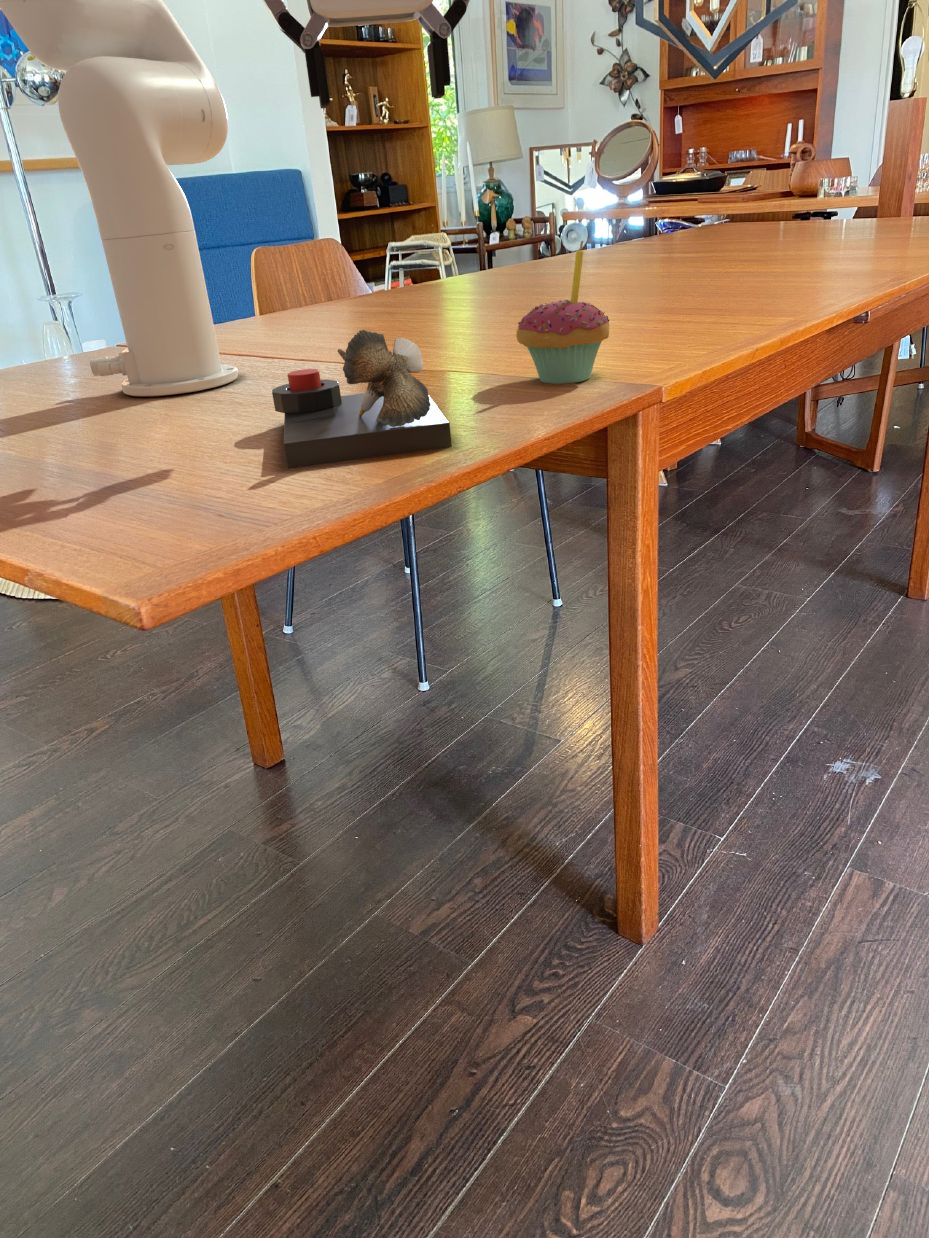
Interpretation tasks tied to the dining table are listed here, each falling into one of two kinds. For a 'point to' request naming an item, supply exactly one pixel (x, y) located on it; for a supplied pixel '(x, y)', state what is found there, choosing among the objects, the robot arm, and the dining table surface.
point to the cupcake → (564, 335)
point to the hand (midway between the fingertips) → (382, 101)
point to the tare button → (304, 379)
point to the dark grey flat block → (349, 427)
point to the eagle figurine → (387, 377)
